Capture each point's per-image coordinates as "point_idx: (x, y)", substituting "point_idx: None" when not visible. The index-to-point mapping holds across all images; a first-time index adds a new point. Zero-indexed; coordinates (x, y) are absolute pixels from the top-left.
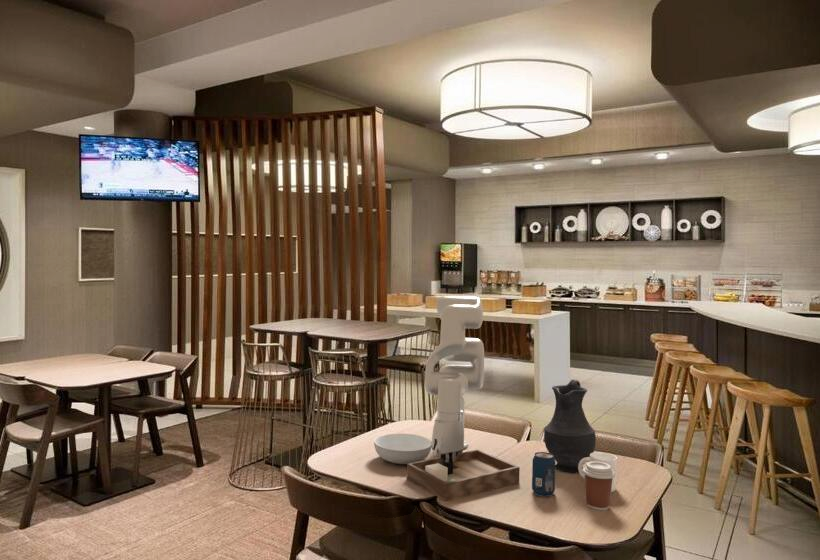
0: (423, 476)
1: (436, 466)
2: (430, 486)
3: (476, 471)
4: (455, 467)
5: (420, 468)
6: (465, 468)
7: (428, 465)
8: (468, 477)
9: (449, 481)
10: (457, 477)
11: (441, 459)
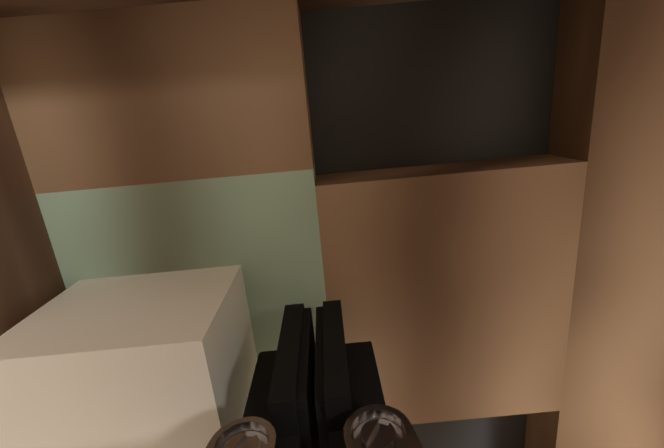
0: None
1: (117, 438)
2: None
3: (651, 320)
4: (583, 89)
5: (115, 1)
6: (628, 208)
7: (13, 368)
8: (476, 408)
9: None
10: (389, 374)
11: (215, 438)
